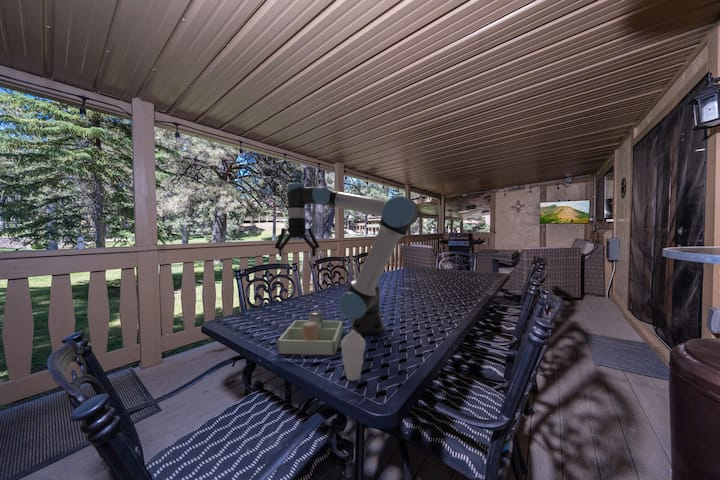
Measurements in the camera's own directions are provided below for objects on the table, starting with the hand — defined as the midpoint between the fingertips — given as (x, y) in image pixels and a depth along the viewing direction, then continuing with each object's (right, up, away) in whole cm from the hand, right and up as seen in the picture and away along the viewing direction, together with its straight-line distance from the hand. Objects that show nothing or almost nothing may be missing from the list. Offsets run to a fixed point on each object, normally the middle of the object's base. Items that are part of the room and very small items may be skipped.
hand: (297, 263), depth 125 cm
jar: (+9, -32, -17) cm, 37 cm away
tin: (+10, -31, -6) cm, 33 cm away
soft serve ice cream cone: (+27, -34, -37) cm, 57 cm away
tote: (+9, -32, -12) cm, 36 cm away
